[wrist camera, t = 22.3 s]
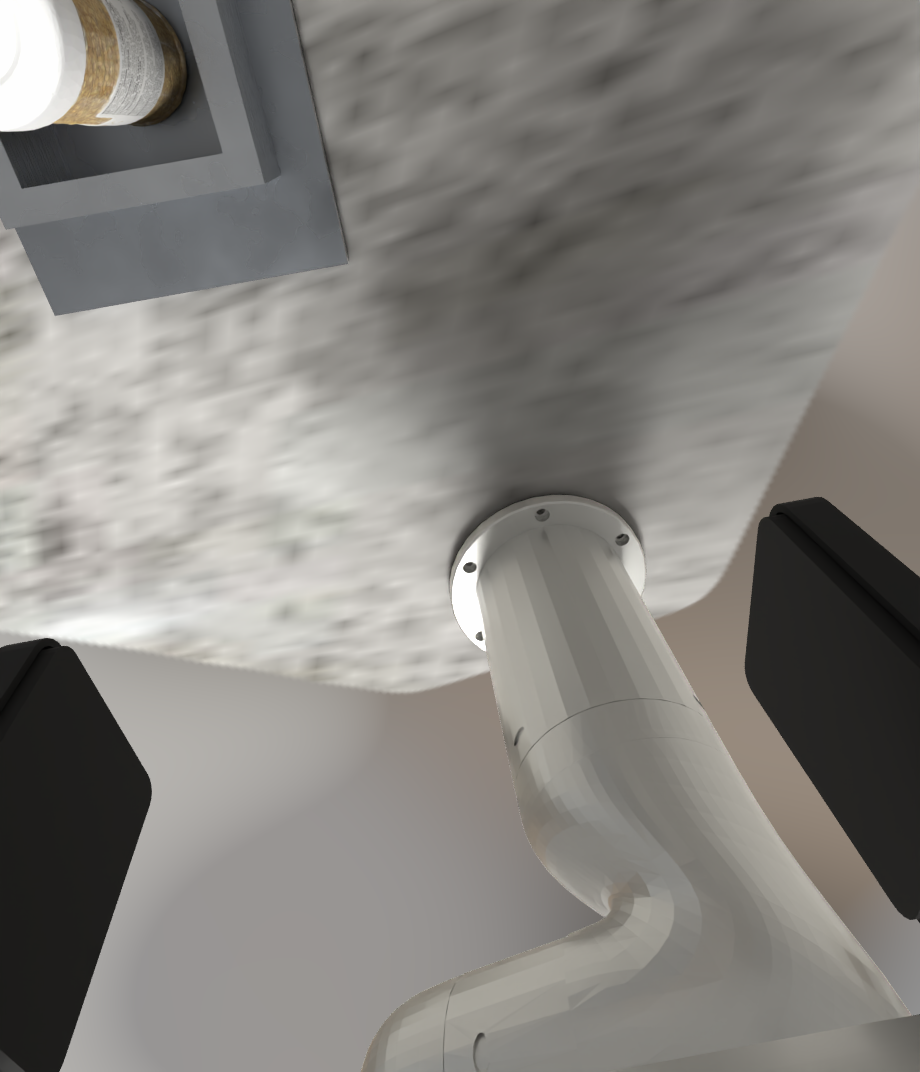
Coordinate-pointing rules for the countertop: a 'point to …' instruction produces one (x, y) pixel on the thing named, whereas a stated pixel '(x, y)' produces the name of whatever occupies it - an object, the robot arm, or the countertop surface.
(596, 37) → the countertop surface
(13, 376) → the countertop surface
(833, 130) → the countertop surface
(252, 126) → the dock
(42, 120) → the sprinkles bottle
